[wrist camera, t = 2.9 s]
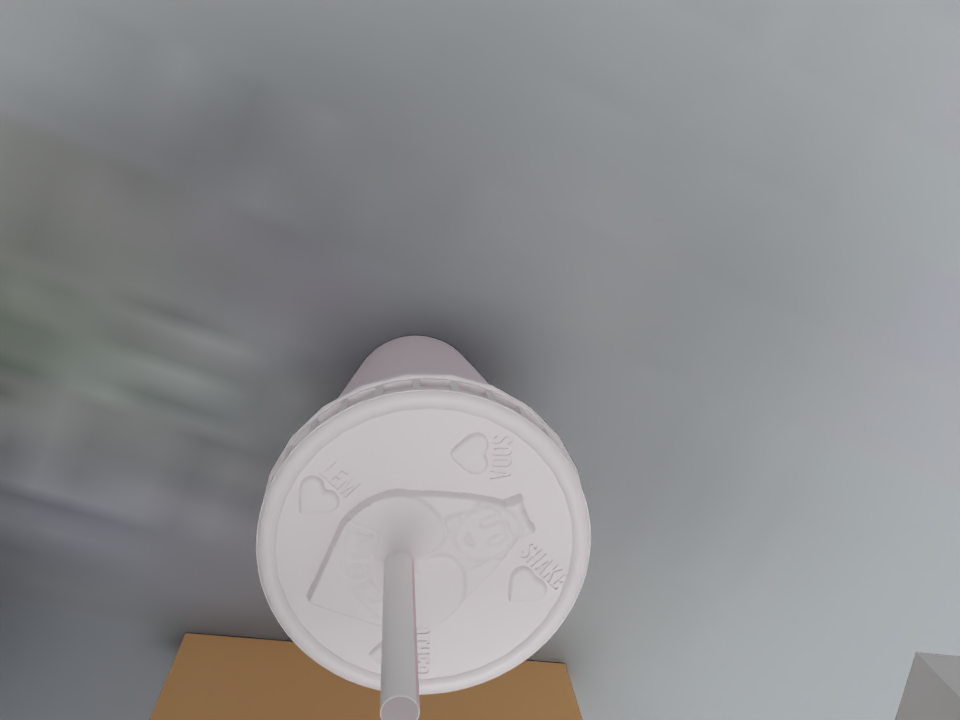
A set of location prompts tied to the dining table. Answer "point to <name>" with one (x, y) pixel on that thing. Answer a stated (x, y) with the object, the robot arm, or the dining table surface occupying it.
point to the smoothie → (422, 529)
